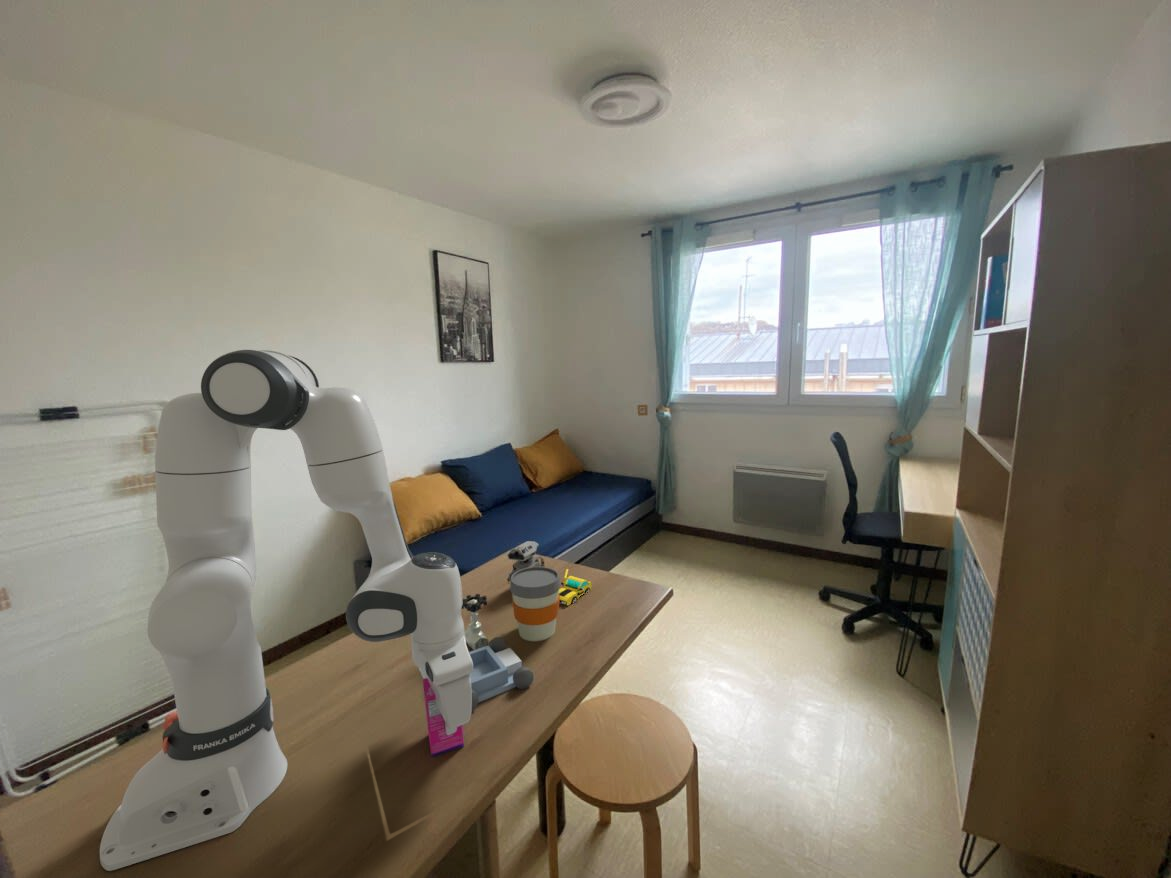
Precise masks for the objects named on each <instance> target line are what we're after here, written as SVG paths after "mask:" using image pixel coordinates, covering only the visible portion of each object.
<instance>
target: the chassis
mask: <svg viewBox="0 0 1171 878" xmlns="http://www.w3.org/2000/svg"><path fill="white" fill-rule="evenodd" d="M507 647H508V645H507V642H506V641H505V640H504V638H502V637H501V636H496V637H493V638H492V639H491V640H490V641H489V642H488V646H485V647H482V648H479V649H476V650H471V651H469V654H470V656H471V659H472V661H473V672H472V673H470V674H469V675H470V679H471V689H472V712H473V711H474V710H475V709H476V708H477V707H478V705H479V703H481V702H484V701H485V700H486V701H487V700H488V699H491V698H493V697H495V696H498V695H500V694H502V693H505V692H507V691H510V690H512V689H514V688H516V687H517V688H518V689H519V690H525V689H527V688H529V687H530V686H531V685H532V684H533V681H534V672H532V670H531V669H530V667H528V666H525V665H523V663H522V659H520V657H519V656H518V655H517V654H516V653H515V651H514V650H513V649H512V648H510V647H508V648H507Z"/></svg>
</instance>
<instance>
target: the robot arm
mask: <svg viewBox="0 0 1171 878" xmlns="http://www.w3.org/2000/svg"><path fill="white" fill-rule="evenodd" d="M258 429H267V430H269V429H270V430H278V431H288V430H292V431H293V433H295V435H296V436H297V437H298V439H299V441H300V444H301V446H302V450H303V453H304V459H305V462H306V465H307V470H308V474H309V478H310V481H311V484H312V486H313V487H312V488H313V489H314V491H315V492H316V495H317V497H318V498H319V500H320V502H321V503H323V504H324V505H325V506H327V507H328V508H329V509H332V510H334V511H337V512H342V513H349V514H351V515H352V516H354V517H355V518H357V520H358V522H359V523H360V526H361V528H362V531H363V534H364V537H365V541H366V544H367V547H368V549H369V553H370V556H371V568H370V571H369V573H368V577H367V578H366V579H365V581H364V582H363V584H362V585H361V586H360V587H359V588H358V590H357V591H356V592H355V594H354V595H353V596H352V598H351V600H350V601H349V603H348V604H347V607H346V611H345V619H346V623H347V625H348V628H349V630H351V632H352V633H353V634H354V635H355V636H356V637H358V638H359V639H361V640H363V641H366V642H371V643H378V642H385V641H390V640H395V639H399V638H403V637H406V636H409V635H410V641H411V654H412V655H411V656H412V657H411V658H412V662H413V664H414V665H415V666H416V667H417V668H418V670H419V673H420V675H421V676H422V679H424V678H427V680H428V682H429V684H430V686H431V688H432V690H433V692H434V694H435V698H436V705H437V707H438V709H439V711H440V713H441V715H442V717H443V719H444V729H445V732H446V734H447V735H450V734H453V733H455V732H456V731H457V727H458V726H461V725H462V726H463V725H464V724H467V723H469V721H470V719H471V717H472V712H473V711H472V689H471V679H470V675H469V674H470V673H472V672H473V661H472V659H471V656H470V654H469V652H470V650H469V648H468V646H467V645H468V644H467V642H466V637H465V632H464V631H465V623H464V620H463V617H462V609H461V608H462V604H463V599H464V598H463V587H462V580H461V574H460V571H459V567H458V565H457V562H455V560H454V559H453V558H452V557H451V556H449V555H446V554H445V553H441V552H433V551H432V552H431V551H430V552H422V553H418V554H416V555H414V554H413V553H412V552H411V550H410V548H409V545H408V544H407V540H406V536H405V533H404V529H403V527H402V523H401V520H400V517H399V513H398V509H397V507H396V504H395V500H394V497H393V494H392V489H391V484H390V479H389V474H388V468H387V463H386V459H385V458H386V457H385V453H384V450H383V445H382V441H381V438H380V434H379V431H378V428H377V425H376V423H375V419H374V418H373V415H372V413H371V410H370V408H369V406H368V404H367V402H366V400H365V398H364V397H363V395H362V394H360V393H359V392H358V391H355V390H354V389H350V388H345V387H338V386H337V387H335V386H334V387H327V388H323V387H320V385H319V380H318V378H317V376H316V374H315V372H314V371H313V369H312V368H311V367H310V366H309V365H308V364H307V363H306V362H304V361H303V360H302V359H299V358H298V357H295V356H292V355H290V354H289V355H288V354H285V353H282V352H280V351H279V352H278V351H274V350H267V349H266V350H264V349H263V350H256V349H239V350H234V351H230V352H227V353H225V354H222V355H220V356H218V357H217V358H215V359H214V360H213V361H212V362H211V363H210V364H208V366H207V368H206V369H205V371H204V372H203V374H202V377H201V382H200V392H193V393H187V394H183V395H180V396H177V397H175V398H173V399H171V400H169V401H167V403H166V404H165V405H164V407H163V408H162V411H161V413H160V419H159V423H158V428H157V434H156V440H155V441H156V444H155V456H154V457H155V458H154V459H155V461H154V465H155V466H154V469H155V499H156V500H155V501H156V517H157V518H156V522H157V523H156V524H157V527H158V529H159V530H160V532H161V535H162V537H163V539H162V540H163V543H164V547H165V549H166V556H167V561H168V570H167V576H166V579H165V583H164V584H163V586H162V587H161V589H160V590H159V591H158V592H157V594H156V596H155V597H154V599H153V601H152V602H151V604H150V608H149V611H148V617H147V637H148V639H149V642H150V644H151V646H153V648H154V649H156V651H158V653H159V654H160V656H161V658H162V660H163V663H164V664H165V666H166V668H167V672H168V674H169V677H170V680H171V685H172V689H173V696H174V702H175V709H176V711H172V712H170V713H168V714H167V715H166V717H165V719H164V722H163V725H162V728H163V730H164V731H163V734H162V749H160V751H159V752H158V753H157V754H155V755H154V756H153V757H151V759H150V760H149V761H147V762H146V763H145V764H143V766H141V768H139V770H138V771H137V772H136V773H135V775H134V776H133V777H132V779H131V781H130V782H129V785H128V786H127V789H126V790H125V792H124V796H123V798H122V801H121V804H120V805H119V807H117V809H116V810H115V811H114V813H113V814H112V815H111V817H110V820H108V823H107V825H106V827H105V829H104V831H103V835H102V837H101V841H100V845H99V862H100V865H101V866H102V868H103V869H104V870H106V871H108V872H112V871H115V870H119V869H122V868H124V867H127V866H131V865H133V864H136V863H140V862H144V861H146V860H150V859H152V858H153V859H154V858H157V857H159V856H162V855H165V854H168V853H171V852H175V851H177V850H181V849H184V848H186V847H191V846H193V845H197V844H200V843H203V842H206V841H209V840H212V839H216V838H219V837H221V836H225V835H227V834H230V833H233V832H235V831H236V830H237V829H238V828H239V827H240V826H242V825H243V823H244V822H245V821H246V819H248V817H249V815H250V814H251V813H252V812H253V811H254V810H255V809H256V808H257V807H258V806H260V805H261V804H262V803H263V802H264V801H265V800H266V799H268V798H269V797H270V796H271V795H272V794H273V793H274V791H275V790H277V788H278V787H279V785H281V783H282V781H283V780H284V778H285V776H286V773H287V770H288V760H287V758H286V756H285V755H284V753H283V751H282V750H281V747H280V745H279V743H278V740H277V737H276V734H275V730H274V727H273V725H274V720H275V719H274V707H273V700H272V697H271V693H270V690H269V689H268V687H267V686H266V679H265V670H264V662H263V661H264V660H263V654H262V648H261V646H260V644H259V641H258V638H257V635H256V631H255V630H256V629H255V626H254V623H253V617H252V595H253V591H254V587H255V583H256V577H257V561H256V560H257V559H256V549H255V547H256V546H255V533H254V525H253V524H254V523H253V516H252V514H253V511H252V508H253V507H252V462H251V461H252V460H251V444H252V438H253V436H254V433H255V432H256V430H258Z"/></svg>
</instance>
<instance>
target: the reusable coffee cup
mask: <svg viewBox="0 0 1171 878" xmlns="http://www.w3.org/2000/svg"><path fill="white" fill-rule="evenodd" d="M509 586H510V587H509V590H510V592H511V596H512V597H511V603H512V604H511V606H512V609H513V610H512V611H513V615H514V619H515V620H516V623H517V627H518V629H517V630H518V633H519V636H520V638H522V639H523V640H525V641H529V642H541V641H544V640H547V639H550V638H551V637H552V636H553V635H554V634H555V631H556V625H557V624H556V623H557V617H558V615H559V609H560V603H559V601H560V595H559V589H561V588H562V587H561V586H562V585H561V578H560V574H559V572H558V571H557V570H556V569H554V568H552V567H549V566H548V567H547V566H545V567H528V568H524V569H521V570H518V571H517V572H515V573H514V574H513V575H512V576H511V581H510V582H509Z"/></svg>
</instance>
